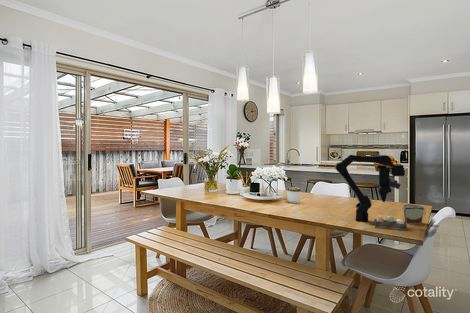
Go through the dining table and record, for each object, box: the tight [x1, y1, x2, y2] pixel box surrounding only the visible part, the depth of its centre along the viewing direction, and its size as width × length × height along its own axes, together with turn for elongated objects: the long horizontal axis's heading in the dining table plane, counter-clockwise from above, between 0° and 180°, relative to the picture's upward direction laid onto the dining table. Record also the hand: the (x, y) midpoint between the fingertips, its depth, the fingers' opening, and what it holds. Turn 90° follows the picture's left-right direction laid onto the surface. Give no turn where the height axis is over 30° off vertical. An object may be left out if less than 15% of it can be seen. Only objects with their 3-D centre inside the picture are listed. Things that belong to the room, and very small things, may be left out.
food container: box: [402, 204, 425, 224], centre depth 167 cm, size 12×6×10 cm, turn 92°
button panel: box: [374, 218, 408, 232], centre depth 156 cm, size 15×9×3 cm, turn 66°
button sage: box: [385, 215, 395, 223], centre depth 156 cm, size 4×4×3 cm
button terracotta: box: [376, 217, 385, 222], centre depth 158 cm, size 4×4×3 cm
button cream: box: [395, 218, 405, 224], centre depth 154 cm, size 4×4×3 cm
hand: (383, 201), depth 167 cm, fingers closed
